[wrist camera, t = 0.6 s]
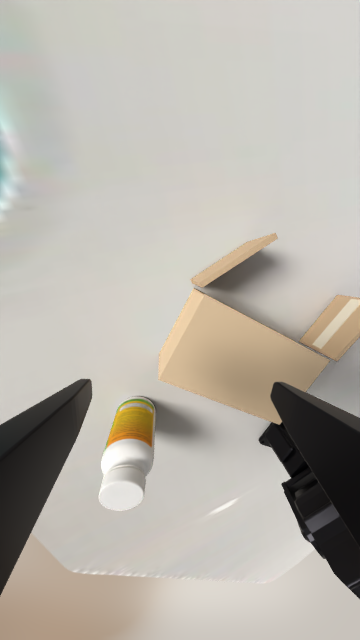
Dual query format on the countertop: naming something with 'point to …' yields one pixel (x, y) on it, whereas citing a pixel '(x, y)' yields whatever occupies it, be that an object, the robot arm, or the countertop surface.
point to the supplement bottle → (128, 454)
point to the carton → (233, 357)
